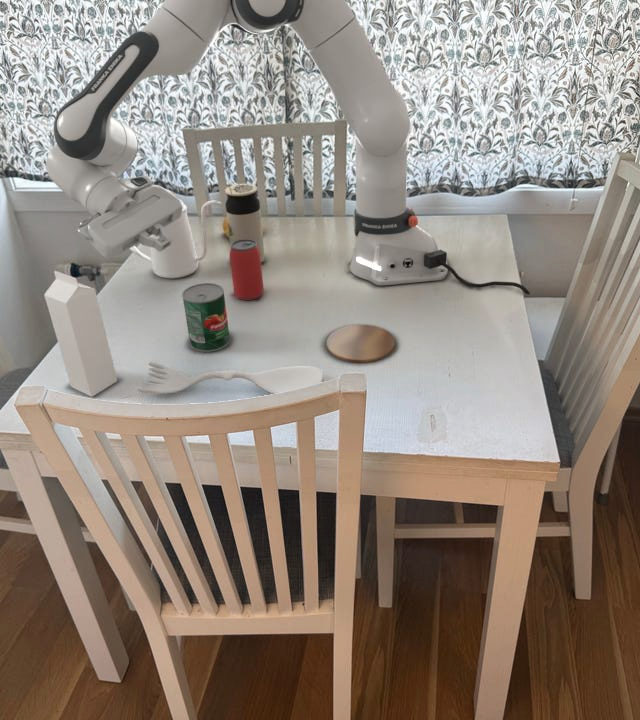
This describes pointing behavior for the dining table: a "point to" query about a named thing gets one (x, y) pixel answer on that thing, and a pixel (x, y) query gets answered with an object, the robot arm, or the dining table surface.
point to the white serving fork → (266, 380)
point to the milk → (80, 334)
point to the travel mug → (244, 215)
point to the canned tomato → (206, 317)
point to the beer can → (246, 269)
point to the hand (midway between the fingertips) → (166, 246)
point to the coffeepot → (178, 247)
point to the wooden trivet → (360, 343)
